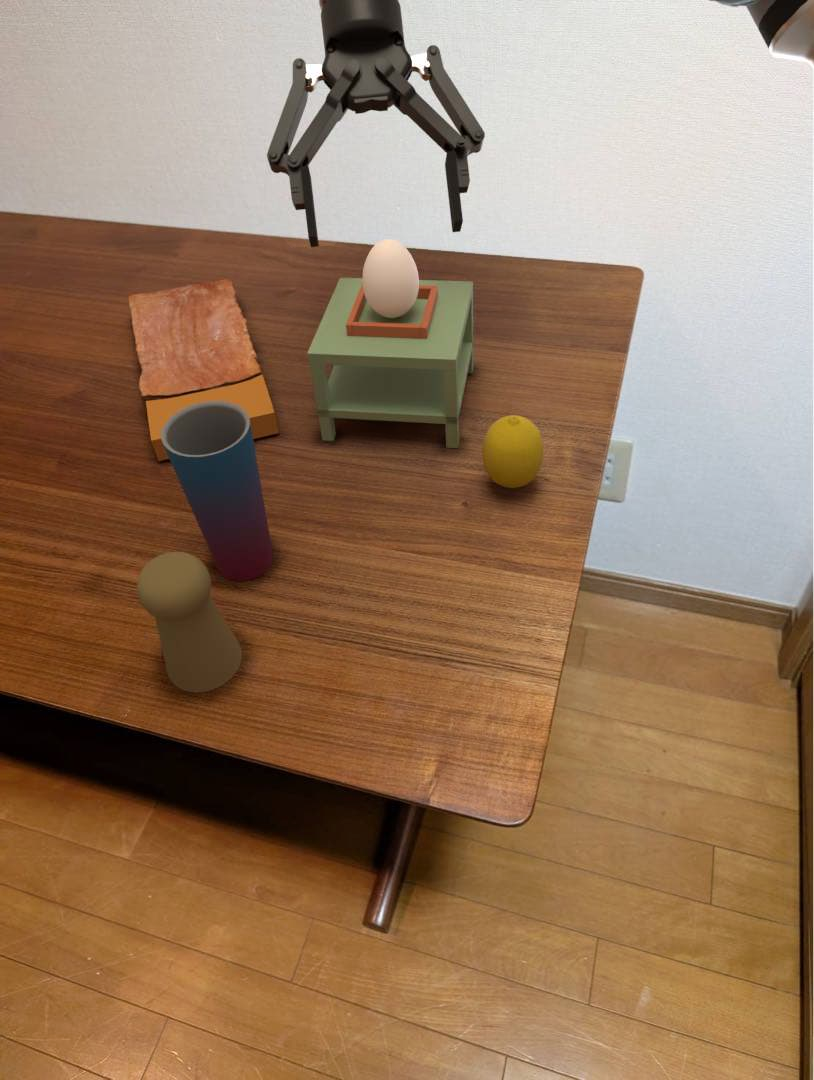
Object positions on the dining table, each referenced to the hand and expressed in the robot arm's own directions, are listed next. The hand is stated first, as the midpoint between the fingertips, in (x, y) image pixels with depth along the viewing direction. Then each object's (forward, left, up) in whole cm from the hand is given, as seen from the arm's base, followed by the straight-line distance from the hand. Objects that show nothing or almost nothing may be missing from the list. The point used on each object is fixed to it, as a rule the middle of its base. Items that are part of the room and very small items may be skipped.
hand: (385, 234), depth 78 cm
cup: (+9, +27, -18) cm, 33 cm away
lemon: (-13, +14, -18) cm, 26 cm away
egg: (-1, +3, -7) cm, 8 cm away
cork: (+9, +38, -18) cm, 43 cm away
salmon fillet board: (+23, -1, -18) cm, 29 cm away
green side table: (-1, +3, -17) cm, 18 cm away
